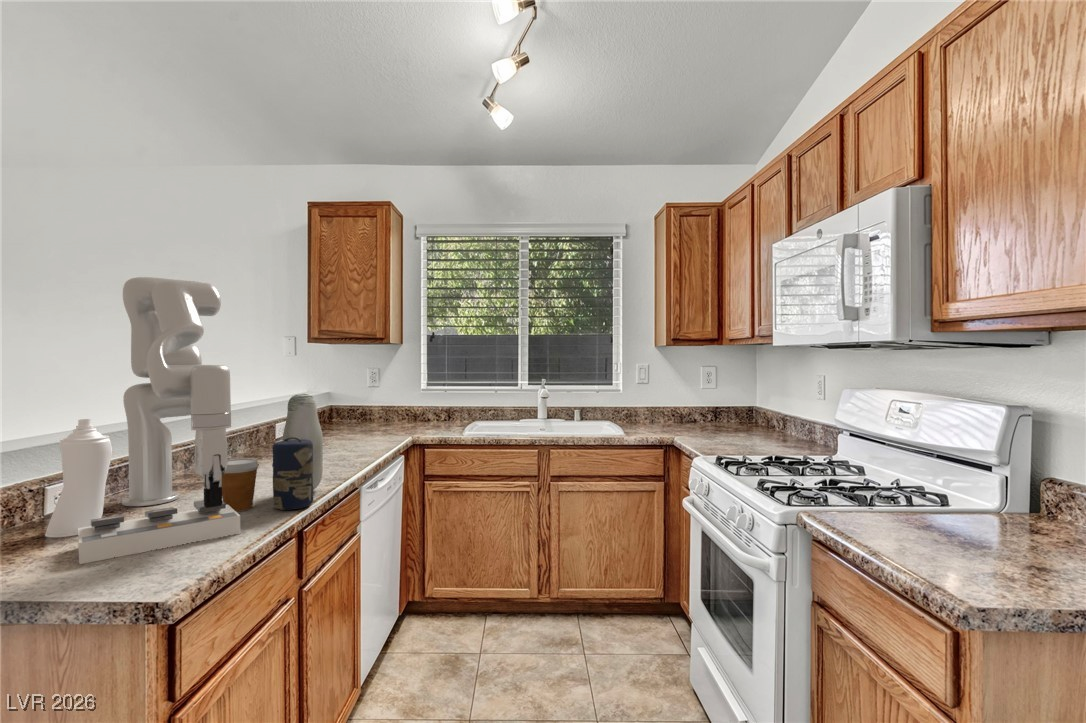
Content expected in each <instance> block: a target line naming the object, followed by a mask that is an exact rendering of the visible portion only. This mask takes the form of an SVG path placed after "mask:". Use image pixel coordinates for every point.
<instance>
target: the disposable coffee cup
mask: <svg viewBox="0 0 1086 723" xmlns="http://www.w3.org/2000/svg"><path fill="white" fill-rule="evenodd" d="M259 467H260V464H259V463H258V460H257V459H256V458H248V457H247V458H246V457H245V458H243V457H242V458H234V459H227V472H226V473H225V474H222V484H221V487H222V501H223V502H224V503H225V504H226V505H229V506H230V507H231V508H232V509H234V510H235V511H236V512H242V511H241V510H243V511H247V510H251V508H253V506H254V494H255V487H256V480H257V479H256V478H257V472H258V468H259Z"/></svg>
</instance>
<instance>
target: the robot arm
mask: <svg viewBox="0 0 1086 723" xmlns="http://www.w3.org/2000/svg"><path fill="white" fill-rule="evenodd" d="M122 301H123V305H124V308H125V311H126V313H127V317H128V319H129V322H130V335H131V336H130V364H131V367H130V368H131V370H132V373H133V374H134V375H135V376H136V377H138V378H144V379H149V381H150V382H145V383H137V384H134V385H131V386H130V387H128V388H127V389H125V391H124V393H123V407H124V412H125V416H126V417H125V418H126V422H127V436H128V437H127V440H128V441H127V442H128V443H127V444H128V496H126V497H124V498H122V500H121V505H122V506H125V507H146V506H156V505H161V504H165V503H170V502H173V501H175V500H177V499H179V498H180V493H179V492H178V491H173V456H172V455H173V453H172V450H173V448H172V445H173V444H172V442H173V441H172V433H171V430H170V429H169V428H168V427H167V425H165V424H164V423H163V422H162V420H161V419H166V418H177V417H188V416H190V424H191V425H190V426H191V427H190V429H191V431H195V436H194V437H195V438H194V472H195V473H196V474H198V476H200V477H203V500H204V506H205V507H206V508H209V507H215V506H221V505H222V501H223V498H222V487H221V484H222V474H225V473H226V472H227V460H228V441H227V440H228V439H227V438H228V437H227V429H229V428H230V429H231V428H232V410H231V409H232V407H231V406H232V405H231V403H232V402H231V397H232V396H231V371H230V369H229V367H228V366H226V365H221V364H218V365H217V364H202V362H203V360H202V354H201V352H200V349H199V348H198V347H197V346H196V345H194V344H195V343H197V342H198V341H200V340H201V339H202V338H203V335H204V333H205V332H204V330H205V329H204V328H205V327H204V326H203V323H202V319H201V317H214V316H216V315H218V313H219V312H220V309H221V307H222V306H221V305H222V302H221V296H220V293H219V291H218V289H217V287H215V286H214V285H213V284H211V283H207V282H199V281H193V280H192V281H191V280H183V279H182V280H181V279H170V278H162V277H150V276H149V277H148V276H140V277H139V276H138V277H132V278H129V279H127V280H126V281H125V282H124V284H123V287H122Z"/></svg>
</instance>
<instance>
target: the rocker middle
mask: <svg viewBox="0 0 1086 723" xmlns="http://www.w3.org/2000/svg"><path fill="white" fill-rule="evenodd" d="M177 512H178V508H176V507H174V506H173V507H172V506H171V507H166V508H157V509H152V510H145V511H144V518H145V517H147V518H152V517H159V516H165V515H171V514H177Z"/></svg>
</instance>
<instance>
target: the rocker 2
mask: <svg viewBox="0 0 1086 723" xmlns="http://www.w3.org/2000/svg"><path fill="white" fill-rule="evenodd" d="M193 507H194V508H195V510H196V509H197V510H198V511H199V512H205V511H212V510H218V509H224V508H226V504H225V503H224V502H223V500H222V505H221V506H215V507H209V508H206V507H205V506H204V499H203V500H196V501H193Z"/></svg>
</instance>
